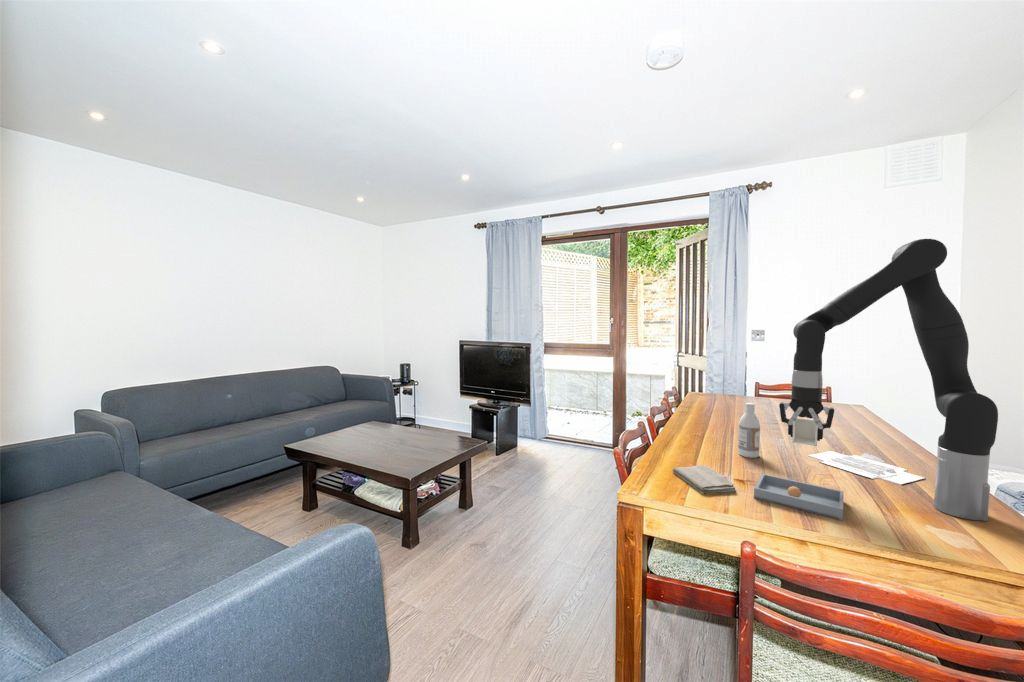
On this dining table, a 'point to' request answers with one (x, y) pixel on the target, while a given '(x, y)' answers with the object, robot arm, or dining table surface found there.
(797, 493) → the ball
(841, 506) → the tray
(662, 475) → the dining table surface
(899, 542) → the dining table surface
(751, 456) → the bath foam
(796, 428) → the white cube stool
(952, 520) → the dining table surface
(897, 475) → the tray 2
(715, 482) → the washcloth
